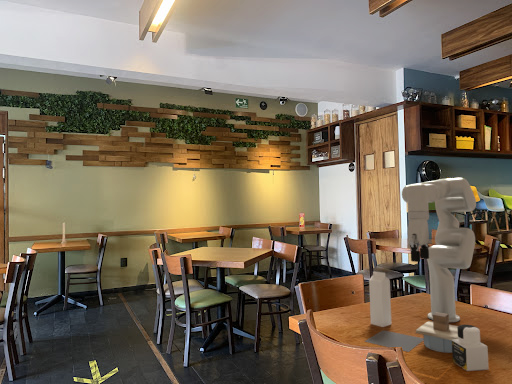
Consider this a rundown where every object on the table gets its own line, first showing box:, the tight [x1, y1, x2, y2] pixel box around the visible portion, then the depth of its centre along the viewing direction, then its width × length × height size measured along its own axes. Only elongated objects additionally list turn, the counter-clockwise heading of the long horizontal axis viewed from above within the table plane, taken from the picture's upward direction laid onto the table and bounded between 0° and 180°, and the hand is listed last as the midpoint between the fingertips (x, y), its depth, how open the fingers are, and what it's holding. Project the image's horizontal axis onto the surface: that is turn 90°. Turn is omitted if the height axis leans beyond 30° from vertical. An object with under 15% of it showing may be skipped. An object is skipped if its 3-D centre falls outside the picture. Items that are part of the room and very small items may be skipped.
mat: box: [364, 329, 424, 353], centre depth 139 cm, size 16×16×1 cm
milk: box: [368, 271, 392, 328], centre depth 159 cm, size 6×6×22 cm
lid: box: [415, 312, 459, 340], centre depth 132 cm, size 13×13×6 cm
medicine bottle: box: [451, 324, 490, 372], centre depth 117 cm, size 7×7×12 cm
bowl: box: [423, 335, 452, 353], centre depth 132 cm, size 11×11×6 cm
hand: (420, 259), depth 148 cm, fingers open, 9 cm apart
